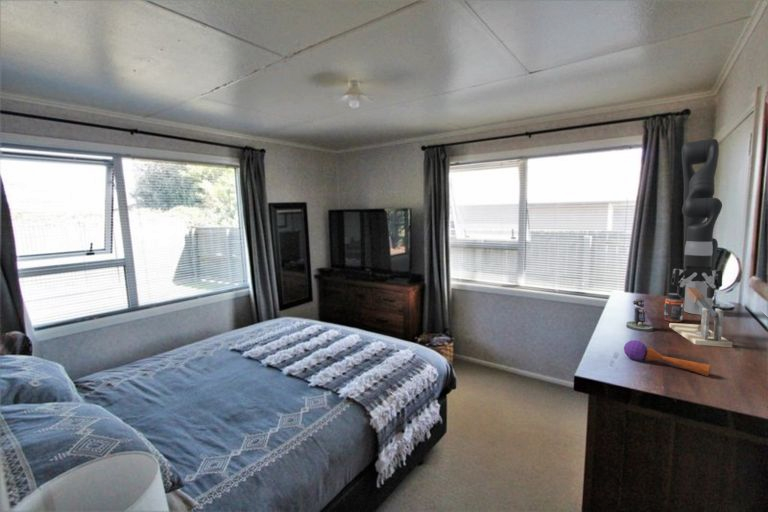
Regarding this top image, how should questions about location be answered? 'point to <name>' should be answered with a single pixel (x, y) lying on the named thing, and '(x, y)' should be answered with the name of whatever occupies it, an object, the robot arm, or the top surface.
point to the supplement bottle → (673, 308)
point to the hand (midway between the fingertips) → (694, 297)
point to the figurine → (639, 318)
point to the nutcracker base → (704, 330)
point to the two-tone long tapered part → (661, 357)
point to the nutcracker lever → (700, 301)
